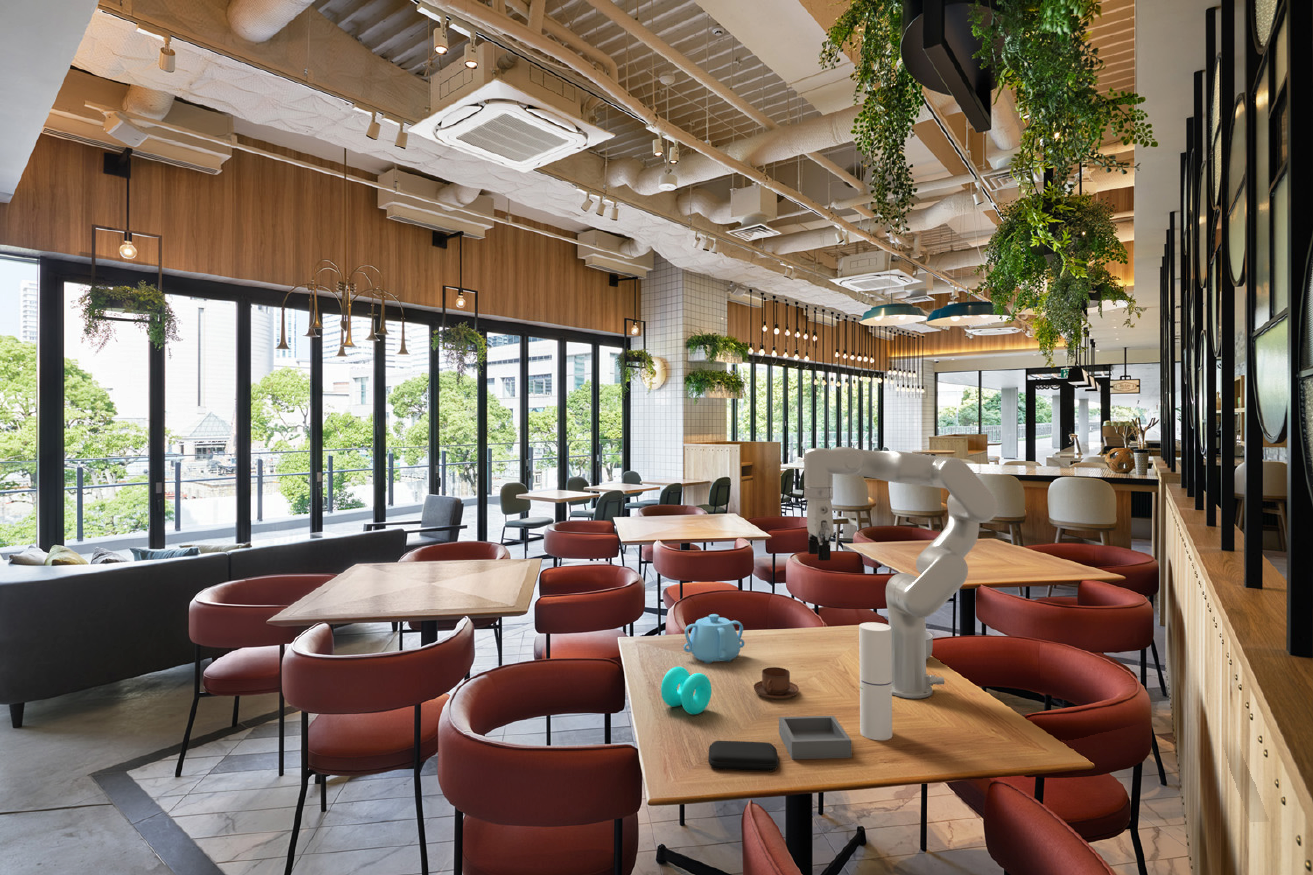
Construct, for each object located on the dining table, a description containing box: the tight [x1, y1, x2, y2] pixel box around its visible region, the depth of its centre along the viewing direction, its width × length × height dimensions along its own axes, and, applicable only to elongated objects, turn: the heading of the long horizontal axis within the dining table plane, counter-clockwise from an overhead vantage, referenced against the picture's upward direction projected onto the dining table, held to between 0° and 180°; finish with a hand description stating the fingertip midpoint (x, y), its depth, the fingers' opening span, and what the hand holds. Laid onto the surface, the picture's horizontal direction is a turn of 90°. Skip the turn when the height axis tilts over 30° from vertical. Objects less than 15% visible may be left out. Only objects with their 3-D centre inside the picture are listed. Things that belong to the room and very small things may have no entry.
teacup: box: [926, 630, 934, 660], centre depth 214 cm, size 14×11×8 cm
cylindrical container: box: [858, 621, 893, 741], centre depth 160 cm, size 7×7×25 cm
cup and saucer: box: [753, 666, 799, 700], centre depth 186 cm, size 12×12×6 cm
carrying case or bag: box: [707, 740, 780, 772], centre depth 148 cm, size 11×3×15 cm
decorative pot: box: [683, 613, 745, 664], centre depth 216 cm, size 16×16×14 cm
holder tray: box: [778, 715, 853, 760], centre depth 155 cm, size 13×13×4 cm
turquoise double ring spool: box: [660, 666, 712, 715], centre depth 176 cm, size 10×10×10 cm
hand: (819, 556), depth 186 cm, fingers open, 9 cm apart
